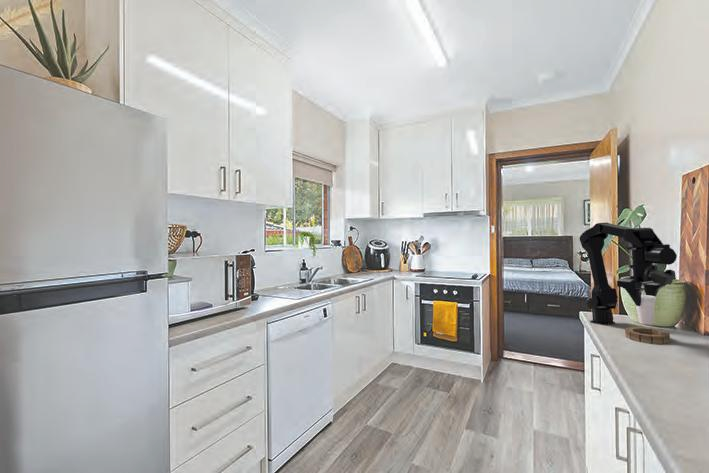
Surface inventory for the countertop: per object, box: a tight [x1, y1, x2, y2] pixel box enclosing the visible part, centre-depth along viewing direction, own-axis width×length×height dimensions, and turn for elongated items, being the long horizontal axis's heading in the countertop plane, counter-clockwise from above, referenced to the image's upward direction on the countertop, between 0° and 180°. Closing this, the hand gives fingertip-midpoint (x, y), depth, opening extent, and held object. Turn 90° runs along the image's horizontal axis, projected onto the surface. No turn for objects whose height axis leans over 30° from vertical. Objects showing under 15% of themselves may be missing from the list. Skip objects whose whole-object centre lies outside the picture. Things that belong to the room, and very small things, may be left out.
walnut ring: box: [624, 326, 671, 345], centre depth 121 cm, size 12×12×2 cm
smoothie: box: [635, 285, 657, 325], centre depth 121 cm, size 6×6×14 cm
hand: (644, 304), depth 121 cm, fingers closed on smoothie, 6 cm apart
